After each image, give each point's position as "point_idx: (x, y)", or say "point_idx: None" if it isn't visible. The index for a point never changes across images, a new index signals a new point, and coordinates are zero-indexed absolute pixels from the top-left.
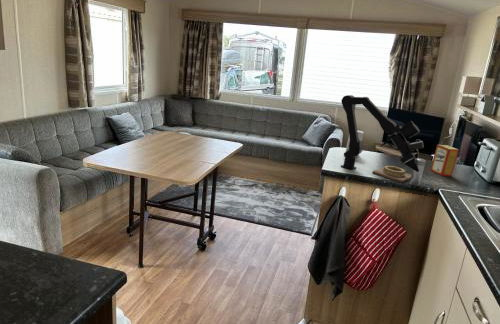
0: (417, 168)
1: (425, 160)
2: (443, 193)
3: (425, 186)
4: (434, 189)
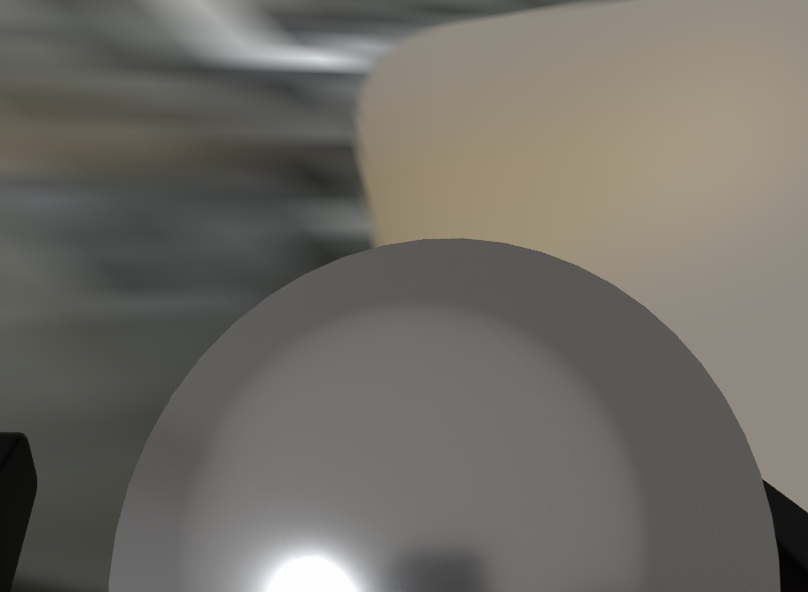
0: (794, 520)
1: (361, 263)
2: (439, 4)
3: (279, 273)
4: (334, 127)
